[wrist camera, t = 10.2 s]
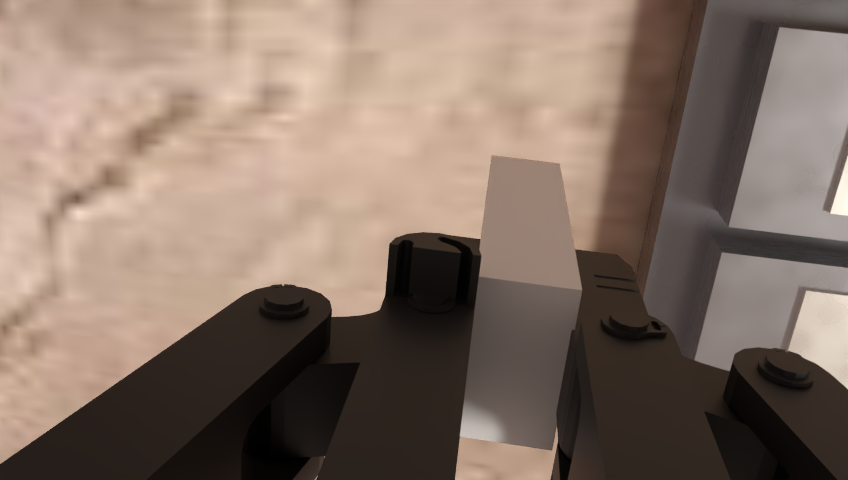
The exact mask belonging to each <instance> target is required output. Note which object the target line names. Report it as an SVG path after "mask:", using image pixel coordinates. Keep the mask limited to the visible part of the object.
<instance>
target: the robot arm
mask: <svg viewBox="0 0 848 480" xmlns="http://www.w3.org/2000/svg"><path fill="white" fill-rule="evenodd" d="M331 315H332V308H331V304H330V301H329V300H328V299H327V298H325V297H324V296H323V295H322V294H320V293H318V292H315V291H313V290H310V289H307V288H302V287H296V286H295V285H287V284H284V286H282V284H280V285H272V286H270V287H265V288H260V289H256V290H254V291H251V292H249V293H247V294H245V295H243V296H242V297H240V298H239V299H237V300H236V301H234V302H233V303H231V304H230V305H229V306H227V307H226V308H224V309H223V310H221V311H220V312H219V313H217V314H216V315H214V316H213V317H211V318H210V319H208V320H207V321H206V322H204V323H203V324H201V325H200V326H198V327H197V328H196V329H194V330H193V331H191V332H190V333H188V334H187V335H185V336H184V337H183V338H181V339H180V340H178V341H177V342H175V343H174V344H172V345H171V346H170V347H168V348H167V349H165V350H164V351H162V352H161V353H160V354H158V355H157V356H155V357H154V358H152V359H151V360H149V361H148V362H147V363H145V364H144V365H142V366H141V367H139V368H138V369H137V370H135V371H134V372H132V373H131V374H129V375H128V376H126V377H125V378H124V379H122V380H121V381H119V382H118V383H116V384H115V385H113V386H112V387H111V388H109V389H108V390H106V391H105V392H103V393H102V394H101V395H99V396H98V397H96V398H95V399H93V400H92V401H90V402H89V403H88V404H86V405H85V406H83V407H82V408H80V409H79V410H77V411H76V412H75V413H73V414H72V415H70V416H69V417H67V418H66V419H65V420H63V421H62V422H60V423H59V424H57V425H56V426H54V427H53V428H52V429H50V430H49V431H47V432H46V433H44V434H43V435H42V436H40V437H39V438H37V439H36V440H34V441H33V442H31V443H30V444H29V445H27V446H26V447H24V448H23V449H21V450H20V451H18V452H17V453H16V454H14V455H13V456H11V457H10V458H8V459H7V460H6V461H4V462H3V463H1V464H0V480H314V479H315V478H316V477H317V475H318V477H317V479H316V480H455V473H456V464H457V456H458V447H459V439H460V437H466V438H473V439H479V440H486V441H493V442H499V443H506V444H513V445H520V446H526V447H533V448H540V449H546V450H552V448H553V443H554V437H555V432H556V427H557V430H558V444H557V450H556V455H555V460H554V465H553V470H552V476H551V480H848V389H847V388H846V387H845V386H844V385H843V384H841V383H840V382H839V381H838V380H837V379H836V378H835V377H834V376H833V375H831V374H830V373H829V372H827V371H826V370H824V369H823V368H822V367H820V366H819V365H817V364H816V363H814V362H811V361H809V360H807V359H805V358H803V357H802V356H801V355H799V354H797V353H794V352H791V351H788V352H786V350H783V349H779V348H772V349H769V348H761V347H756V348H746V349H743V350H741V351H739V352H737V353H735V354H734V358H733V361H732V365H731V369H730V371H727V370H724V369H720V368H717V367H714V366H710V365H707V364H704V363H701V362H698V361H695V360H692V359H689V358H687V357H685V356H683V355H682V353H681V351H680V348H679V346H678V343H677V340H676V338H675V335H674V334H673V332H672V331H671V330H670V328H669V327H668V326H667V325H666V324H664V323H663V322H661V321H660V320H658V319H657V318H655V317H652V316H650V315H648V312H647V309H646V307H645V304H644V301H643V298H642V295H641V293H640V289H639V286H638V283H636V278H635V275H634V272H633V269H632V267H631V266H630V265H628V264H627V263H626V262H625V261H624V260H622V259H621V258H620V257H619V256H618V255H614V254H606V253H598V252H591V251H583V250H575V247H574V241H573V235H572V230H571V224H570V219H569V213H568V208H567V202H566V197H565V191H564V185H563V180H562V174H561V169H560V164H559V163H551V162H542V161H534V160H526V159H518V158H509V157H501V156H493V155H492V157H491V165H490V172H489V180H488V187H487V195H486V202H485V210H484V217H483V225H482V232H481V239H474V238H466V237H459V236H451V235H445V234H440V233H424V232H422V233H412V234H406V235H403V236H400V237H397V238H395V239H394V240H393V241H392V242H391V243H390V245H389V257H388V269H387V281H386V294H385V298H384V301H383V303H382V306H381V309H380V310H379V311H377V312H374V313H370V314H366V315H361V316H350V317H331ZM324 456H325V458H324Z"/></svg>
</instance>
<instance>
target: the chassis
mask: <svg viewBox="0 0 848 480" xmlns="http://www.w3.org/2000/svg"><path fill="white" fill-rule="evenodd" d="M636 283H638V286H639V289H640V293H641V295H642V298H643V301H644V304H645V307H646V309H647V312H648V315H650V316H652V317H655V318H657V319H658V320H660V321H661V322H663V323H664V324H666V325H667V326H668V327H669V328H670V330H671V331H672V332H673V334H674V335H675V338H676V340H677V343H678V346H679V348H680V351H681V353H682V355H683V356H685V357H687V358H689V359H692V360H695V361H698V362H701V363H704V364H707V365H710V366H714V367H717V368H720V369H724V370H727V371H730V369H731V365H732V361H733V358H734V354H735V353H737V352H739V351H741V350H743V349H746V348H756V347H761V348H769V349H772V348H779V349H783V350H786V352H788V351H791V352H794V353H797V354H799V355H801V356H802V357H803V358H805V359H807V360H809V361H811V362H814V363H816V364H817V365H819V366H820V367H822V368H823V369H824V370H826V371H827V372H829V373H830V374H831V375H833V376H834V377H835V378H836V379H837V380H838V381H839V382H840V383H841V384H843V385H844V386H845V387H846V388H847V389H848V0H695V2H694V7H693V12H692V16H691V21H690V26H689V31H688V35H687V40H686V45H685V49H684V54H683V59H682V64H681V68H680V73H679V78H678V82H677V87H676V92H675V97H674V101H673V106H672V111H671V115H670V120H669V125H668V130H667V134H666V139H665V144H664V148H663V153H662V158H661V163H660V167H659V172H658V177H657V181H656V186H655V191H654V196H653V200H652V205H651V210H650V214H649V219H648V224H647V229H646V233H645V238H644V243H643V247H642V252H641V257H640V262H639V266H638V271H637V276H636Z"/></svg>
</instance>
